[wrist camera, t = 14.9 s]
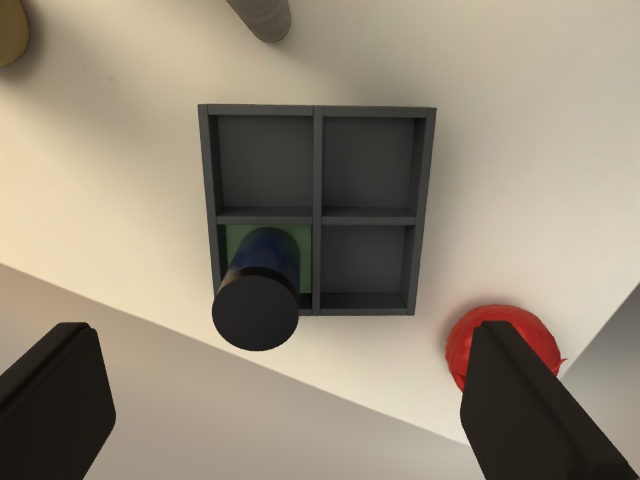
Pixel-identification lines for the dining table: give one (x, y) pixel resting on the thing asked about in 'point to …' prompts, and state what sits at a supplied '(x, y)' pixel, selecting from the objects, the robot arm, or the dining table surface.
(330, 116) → the tray
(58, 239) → the dining table surface
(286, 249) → the thermos
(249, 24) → the hip flask
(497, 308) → the red hollow tomato
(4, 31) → the squeeze bottle
